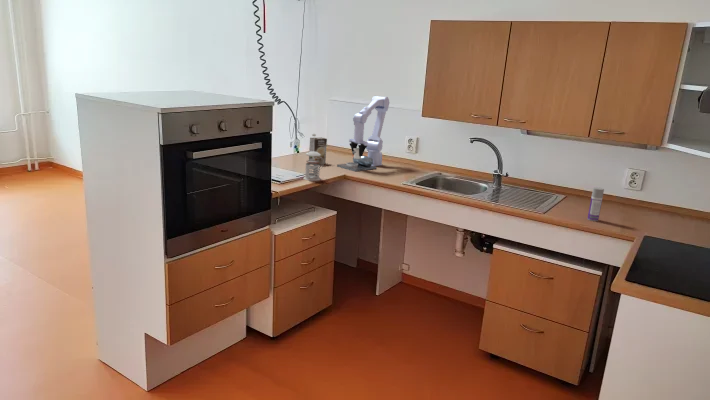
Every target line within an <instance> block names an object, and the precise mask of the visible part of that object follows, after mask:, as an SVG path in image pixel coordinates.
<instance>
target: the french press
mask: <svg viewBox="0 0 710 400" xmlns="http://www.w3.org/2000/svg"><path fill="white" fill-rule="evenodd" d="M311 135H312V137H316V136H317V134H316V133H313V134H311ZM320 155H321V154H319V153H318V152H314V145H313V151H311V152H306V153H305V156H308V157H309V156H318V157H320ZM320 158H322V157H320ZM320 158H318V159H320ZM322 159H323V158H322ZM322 159H321V160H322ZM317 163H319V161H315V160H309V159H307V160H306V163H305V176H304V177H303V180H306V181H313V182H315V181H316V182H317V181H321V177H320V170H321V169H323V166H324V160H323V164H317Z"/></svg>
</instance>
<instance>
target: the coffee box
mask: <svg viewBox="0 0 710 400" xmlns="http://www.w3.org/2000/svg"><path fill="white" fill-rule="evenodd" d="M313 145H314V152H318V153H319V154H321V155H320V157H322V158H323V159H322V158H320V157H318V156H308V160H315V161H319V163H317V164H318V165H319V164H320V165H321V164H322V165H323V160H324V164H326V160H327V159H326V158H327V145H328V139H327V138H325V137H310V138H309V150H308V151H309V152H311V151H313ZM318 158H320V159H318ZM321 159H322V160H321Z"/></svg>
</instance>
